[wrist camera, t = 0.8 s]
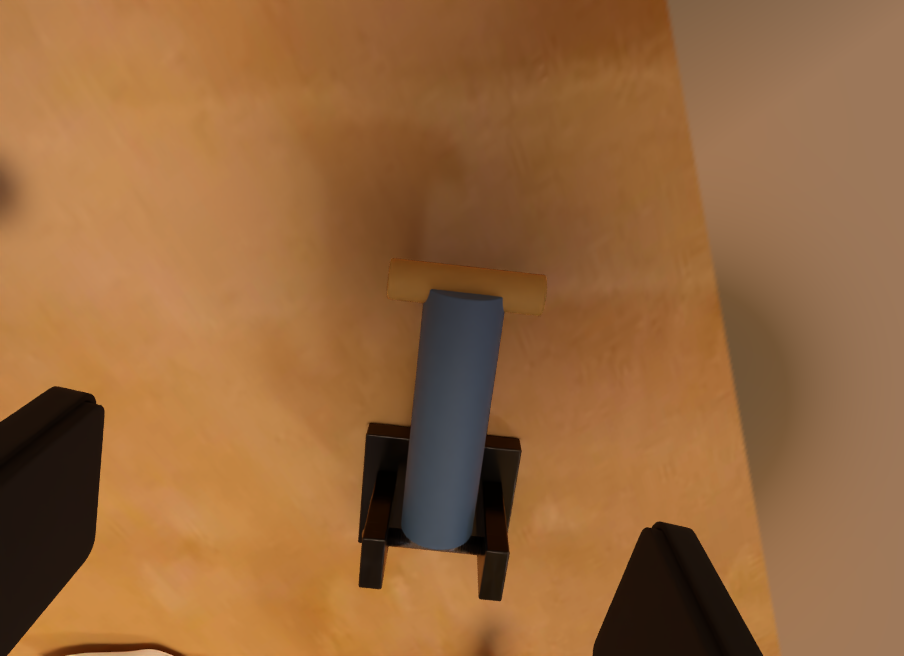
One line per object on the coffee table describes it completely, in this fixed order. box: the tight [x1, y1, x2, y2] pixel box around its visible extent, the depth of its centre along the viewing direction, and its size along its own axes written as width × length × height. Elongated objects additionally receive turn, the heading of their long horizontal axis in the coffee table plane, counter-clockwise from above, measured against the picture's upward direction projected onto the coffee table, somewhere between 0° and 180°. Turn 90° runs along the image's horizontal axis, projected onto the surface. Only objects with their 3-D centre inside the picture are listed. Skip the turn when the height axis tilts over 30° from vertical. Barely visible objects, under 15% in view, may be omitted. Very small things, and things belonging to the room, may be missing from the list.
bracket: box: [358, 423, 521, 601], centre depth 30 cm, size 6×8×6 cm
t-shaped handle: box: [387, 258, 547, 550], centre depth 26 cm, size 12×6×3 cm, turn 174°
